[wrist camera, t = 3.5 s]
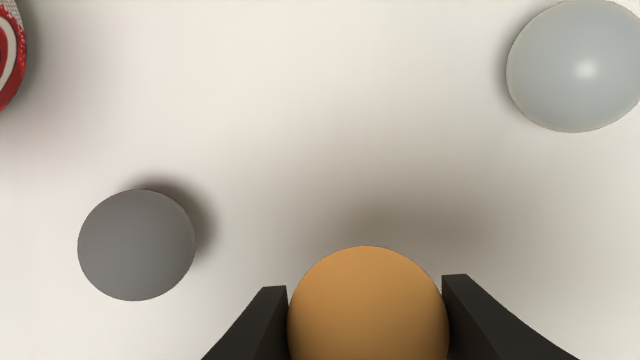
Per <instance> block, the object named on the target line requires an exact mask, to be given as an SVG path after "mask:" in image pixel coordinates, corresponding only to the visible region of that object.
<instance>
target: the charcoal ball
mask: <svg viewBox="0 0 640 360" xmlns="http://www.w3.org/2000/svg"><path fill="white" fill-rule="evenodd" d="M195 247H196V239H195V232H194V228H193V225H192V223H191V220H190V218H189V217H188V215H187V213H186V212H185V211H184V209H183V208H182V207H181V206H180V205H179V204H178V203H176V202H175V201H174V200H172V199H171V198H169V197H167V196H165V195H163V194H161V193H158V192H154V191H150V190H130V191H124V192H121V193H118V194H115V195H113V196H111V197H109V198H107V199H105V200H104V201H102V202H101V203H100V204H98V205H97V206H96V207H95V208H94V209H93V210H92V211H91V213H90V214H89V215H88V216H87V218H86V220H85V222H84V223H83V225H82V228H81V230H80V233H79V238H78V246H77V251H78V258H79V262H80V266H81V268H82V271H83V272H84V274H85V276H86V277H87V279H88V280H89V281H90V282H91V283H92V284H93V285H94V286H95V287H96V288H97V289H98V290H100V291H101V292H103V293H104V294H106V295H108V296H111V297H113V298H116V299H120V300H125V301H142V300H148V299H152V298H155V297H157V296H160V295H162V294H164V293H165V292H167V291H169V290H170V289H172V288H173V287H174V286H175V285H176V284H178V283H179V282H180V281H181V280H182V278H183V277H184V276H185V274H186V273H187V271H188V270H189V268H190V266H191V263H192V261H193V258H194V253H195Z"/></svg>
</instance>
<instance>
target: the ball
mask: <svg viewBox="0 0 640 360" xmlns="http://www.w3.org/2000/svg"><path fill="white" fill-rule="evenodd" d="M286 334H287V343H288V348H289V353H290V356H291V358H292V360H446V357H447V353H448V348H449V339H450V330H449V319H448V315H447V311H446V307H445V303H444V301H443V299H442V296H441V294H440V292H439V290H438V288H437V287H436V285H435V284H434V282H433V281H432V280H431V278H430V277H429V276H428V275H427V274H426V272H425V271H424V270H423V269H422V268H421V267H419V266H418V265H417V264H416V263H414V262H413V261H412V260H410V259H409V258H407V257H406V256H404V255H402V254H400V253H398V252H395V251H392V250H389V249H385V248H381V247H375V246H356V247H350V248H346V249H342V250H339V251H337V252H334V253H332V254H330V255H328V256H326V257H324V258H323V259H322V260H320V261H319V262H317V263H316V264H315V265H314V266H313V267H312V268H311V269H310V270H309V271H308V272H307V273H306V274H305V276H304V277H303V278H302V279H301V281H300V283H299V284H298V286H297V288H296V289H295V291H294V294H293V296H292V298H291V302H290V305H289V309H288V313H287V324H286Z"/></svg>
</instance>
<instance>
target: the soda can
mask: <svg viewBox="0 0 640 360" xmlns="http://www.w3.org/2000/svg"><path fill="white" fill-rule="evenodd" d="M26 55H27V50H26V36H25V32H24V27H23V22H22V19H21V16H20V13H19V11H18V8H17V5H16V3H15V1H14V0H0V111H1V110H2V109H3V108H4V107H5V106H6V105H7V104H8V103H9V102H10V101H11V99H12V98H13V97H14V95H15V94H16V92H17V90H18V88H19V86H20V84H21V82H22V78H23V74H24V71H25V66H26Z"/></svg>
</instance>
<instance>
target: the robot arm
mask: <svg viewBox="0 0 640 360" xmlns="http://www.w3.org/2000/svg"><path fill="white" fill-rule="evenodd" d="M442 299H443V301H444V303H445V307H446V311H447V315H448V319H449V330H450V339H449V348H448V353H447V357H446V360H579V359H577V358H576V357H574V356H572V355H571V354H569V353H567V352H566V351H564V350H562V349H561V348H559V347H558V346H556V345H555V344H553V343H552V342H550V341H549V340H547V339H546V338H544V337H543V336H542V335H540V334H539V333H537V332H536V331H535V330H533V329H532V328H530V327H529V326H528V325H526V324H525V323H524V322H522V321H521V320H520V319H518V318H517V317H516V316H515V315H513V314H512V313H511V312H510V311H508V310H507V309H506V308H505V307H503V306H502V305H501V304H500V303H499V302H498V301H496V300H495V299H494V298H493V297H492V296H491V295H489V294H488V293H487V292H486V291H485V290H484V289H483V288H481V287H480V286H479V285H478V284H477V283H476V282H475V281H473V280H472V279H471V278H470V277H469V276H468V275H467V274H455V275H442ZM288 309H289V305H288V297H287V290H286V285H284V286H268V287H262V288H261V290H260V291H259V292H258V293H257V294H256V296H255V297H254V298H253V300H252V301H251V302H250V304H249V305H248V306H247V307H246V309H245V310H244V311H243V312H242V314H241V315H240V316H239V317H238V319H237V320H236V321H235V322H234V323H233V325H232V326H231V327H230V328H229V329H228V331H227V332H226V333H225V334H224V335H223V336H222V338H221V339H220V340H219V341H218V342H217V343H216V344H215V345H214V346H213V347H212V348H211V349H210V350H209V351H208V353H207V354H206V355H205V356H204V357H203V358H202V359H201V360H292V358H291V356H290V353H289V348H288V343H287V334H286V324H287V313H288Z"/></svg>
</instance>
